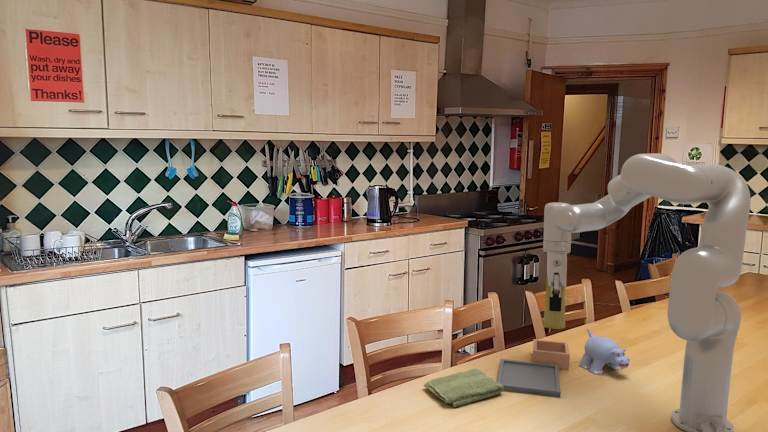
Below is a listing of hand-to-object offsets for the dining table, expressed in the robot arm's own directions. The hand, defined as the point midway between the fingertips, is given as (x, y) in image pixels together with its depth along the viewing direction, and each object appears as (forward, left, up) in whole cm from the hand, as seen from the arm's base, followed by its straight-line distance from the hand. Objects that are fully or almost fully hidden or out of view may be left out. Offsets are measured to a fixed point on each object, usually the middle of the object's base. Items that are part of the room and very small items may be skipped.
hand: (554, 307), depth 169 cm
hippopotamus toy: (-1, -14, -17) cm, 22 cm away
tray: (-15, +6, -16) cm, 23 cm away
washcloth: (-28, +22, -17) cm, 39 cm away
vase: (0, 0, -6) cm, 6 cm away
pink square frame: (0, 0, -16) cm, 17 cm away
